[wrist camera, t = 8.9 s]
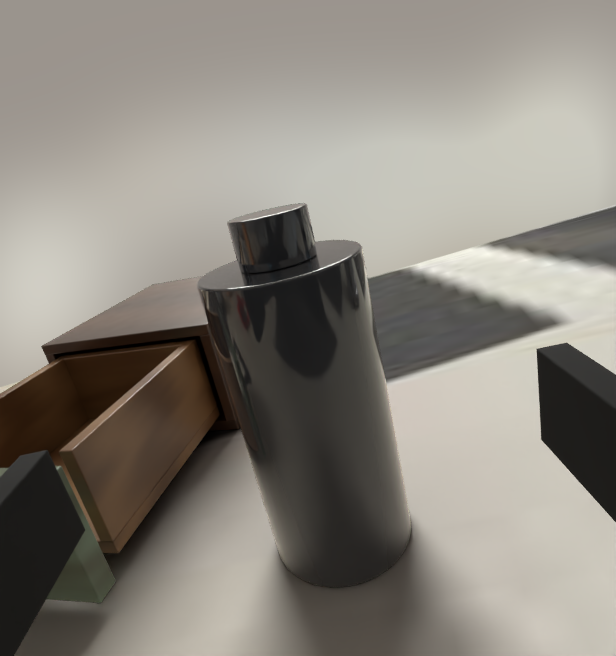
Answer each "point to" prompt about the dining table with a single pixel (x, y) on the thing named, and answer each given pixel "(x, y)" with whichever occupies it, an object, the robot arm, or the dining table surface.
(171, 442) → the drawer
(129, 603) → the dining table surface
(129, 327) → the cabinet
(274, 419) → the bottle
